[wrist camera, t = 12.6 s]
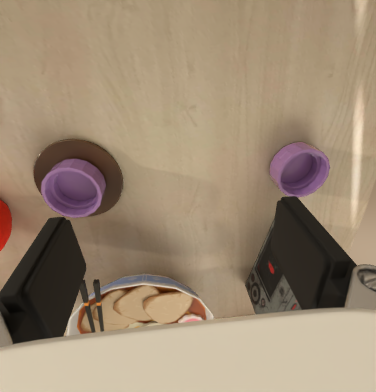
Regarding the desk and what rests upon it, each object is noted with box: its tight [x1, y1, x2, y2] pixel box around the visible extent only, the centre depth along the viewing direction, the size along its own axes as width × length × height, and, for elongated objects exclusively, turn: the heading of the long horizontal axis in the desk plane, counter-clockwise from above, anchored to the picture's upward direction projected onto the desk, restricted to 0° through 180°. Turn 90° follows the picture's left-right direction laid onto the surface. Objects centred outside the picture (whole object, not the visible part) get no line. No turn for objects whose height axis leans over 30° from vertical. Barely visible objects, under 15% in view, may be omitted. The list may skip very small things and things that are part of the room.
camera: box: [245, 219, 302, 315], centre depth 39 cm, size 16×4×10 cm, turn 168°
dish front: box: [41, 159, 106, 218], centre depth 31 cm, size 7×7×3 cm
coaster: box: [34, 139, 123, 216], centre depth 33 cm, size 11×11×1 cm
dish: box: [270, 142, 330, 197], centre depth 34 cm, size 7×7×3 cm
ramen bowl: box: [67, 273, 214, 336], centre depth 42 cm, size 25×23×8 cm
